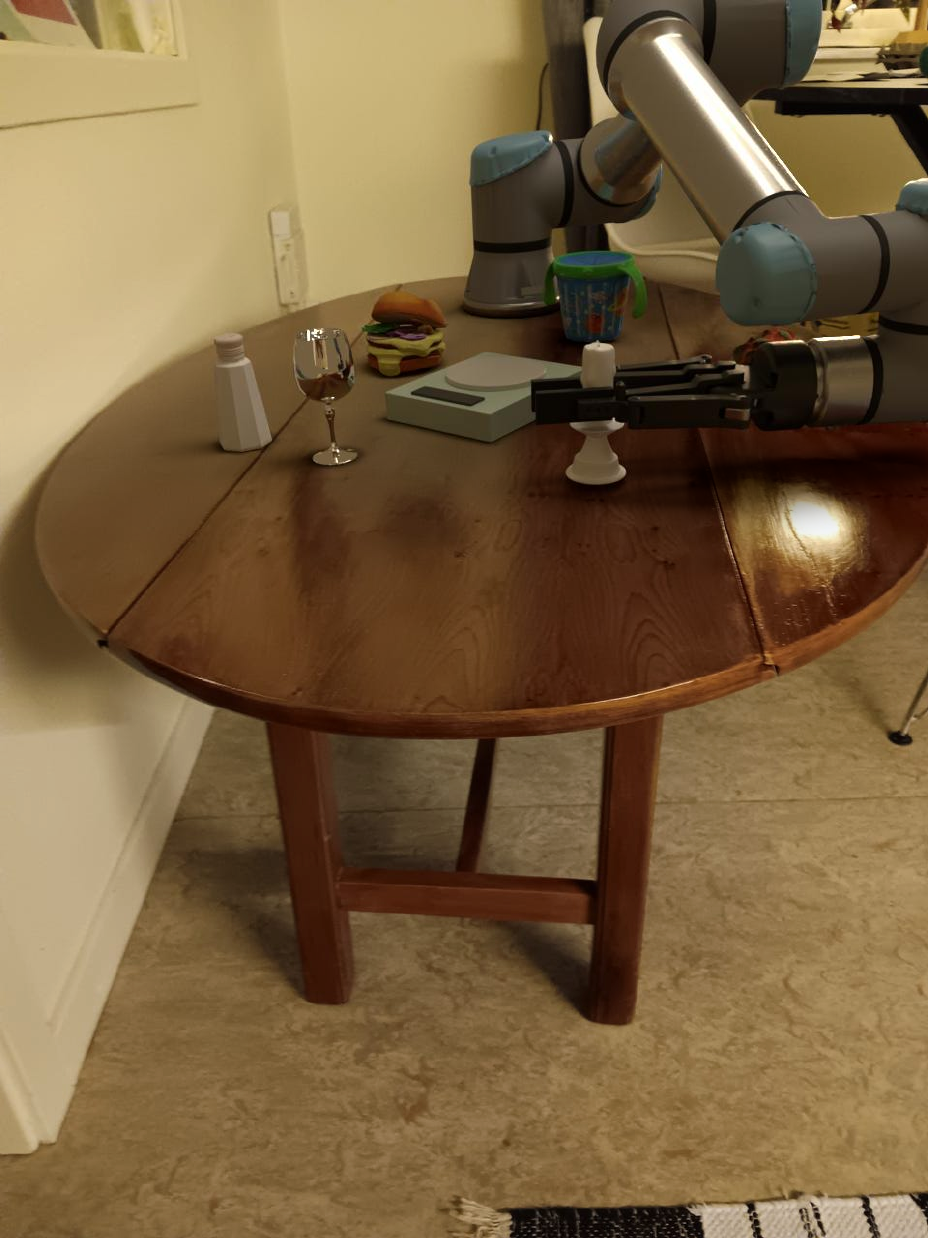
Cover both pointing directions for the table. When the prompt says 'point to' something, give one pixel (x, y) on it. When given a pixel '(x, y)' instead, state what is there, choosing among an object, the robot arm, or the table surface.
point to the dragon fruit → (747, 350)
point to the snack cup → (594, 293)
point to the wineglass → (325, 379)
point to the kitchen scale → (475, 395)
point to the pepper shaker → (238, 398)
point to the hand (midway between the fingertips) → (534, 401)
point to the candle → (597, 423)
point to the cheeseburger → (404, 333)
